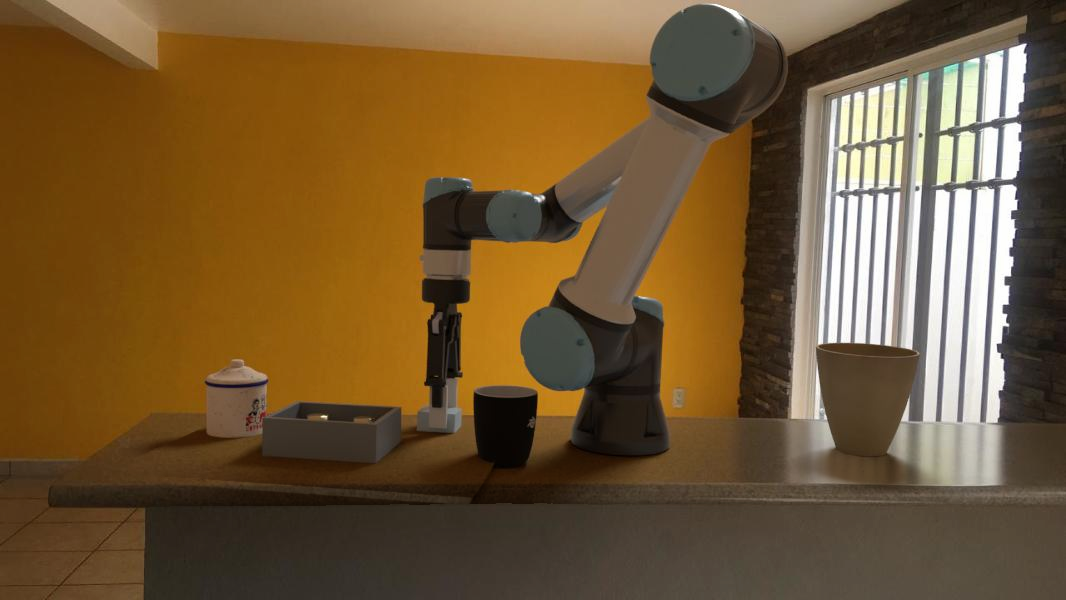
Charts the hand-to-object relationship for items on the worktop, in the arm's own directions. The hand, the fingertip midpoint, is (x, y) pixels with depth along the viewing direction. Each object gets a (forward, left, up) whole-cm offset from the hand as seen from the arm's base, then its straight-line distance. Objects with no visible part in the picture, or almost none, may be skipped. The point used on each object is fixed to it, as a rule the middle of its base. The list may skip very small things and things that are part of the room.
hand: (443, 422), depth 137 cm
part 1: (+16, +13, -1) cm, 21 cm away
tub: (+12, +16, -2) cm, 20 cm away
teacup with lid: (+30, +8, -2) cm, 31 cm away
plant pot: (-65, -5, -2) cm, 65 cm away
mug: (-12, +13, -2) cm, 18 cm away
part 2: (+9, +13, -1) cm, 16 cm away
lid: (+9, 0, -3) cm, 9 cm away
